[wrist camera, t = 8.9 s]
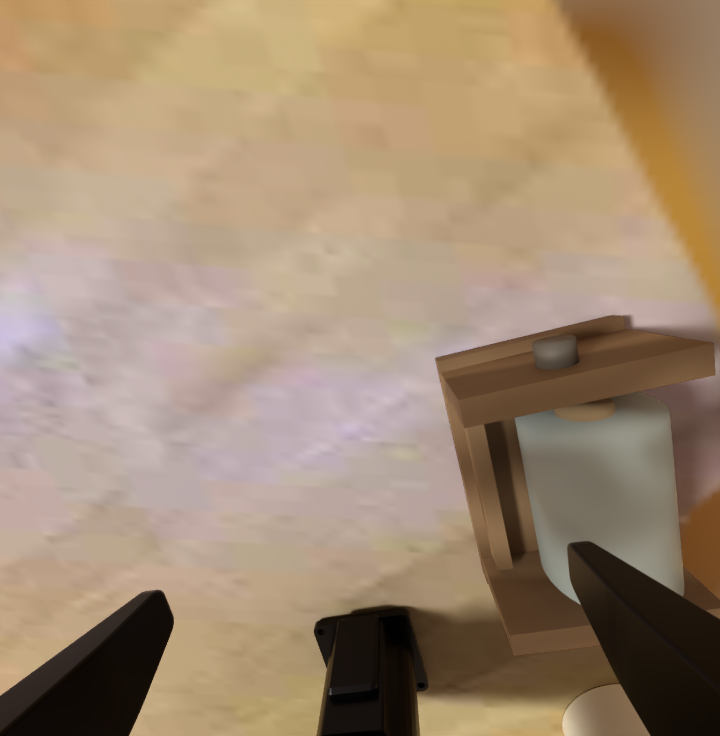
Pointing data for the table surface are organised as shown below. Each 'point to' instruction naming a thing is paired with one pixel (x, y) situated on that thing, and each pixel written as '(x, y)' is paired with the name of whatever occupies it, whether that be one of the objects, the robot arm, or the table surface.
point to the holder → (504, 460)
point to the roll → (604, 485)
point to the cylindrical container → (603, 714)
